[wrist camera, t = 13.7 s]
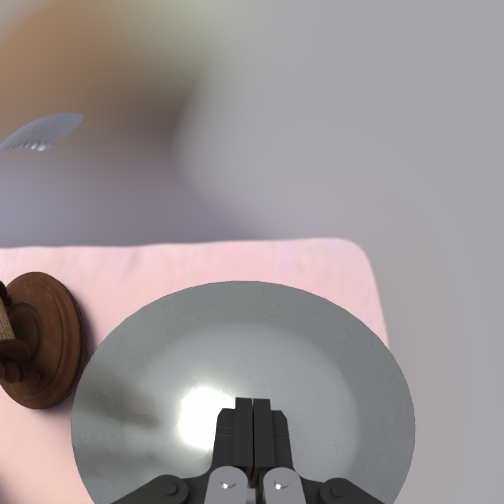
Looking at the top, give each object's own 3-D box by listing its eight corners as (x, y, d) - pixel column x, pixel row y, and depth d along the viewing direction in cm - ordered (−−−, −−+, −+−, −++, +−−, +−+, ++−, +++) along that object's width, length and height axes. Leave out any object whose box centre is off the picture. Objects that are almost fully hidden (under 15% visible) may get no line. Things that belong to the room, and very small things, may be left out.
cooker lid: (378, 550, 8) (397, 567, 5) (91, 535, 8) (72, 551, 5) (400, 296, 16) (425, 280, 14) (104, 274, 16) (83, 254, 13)
